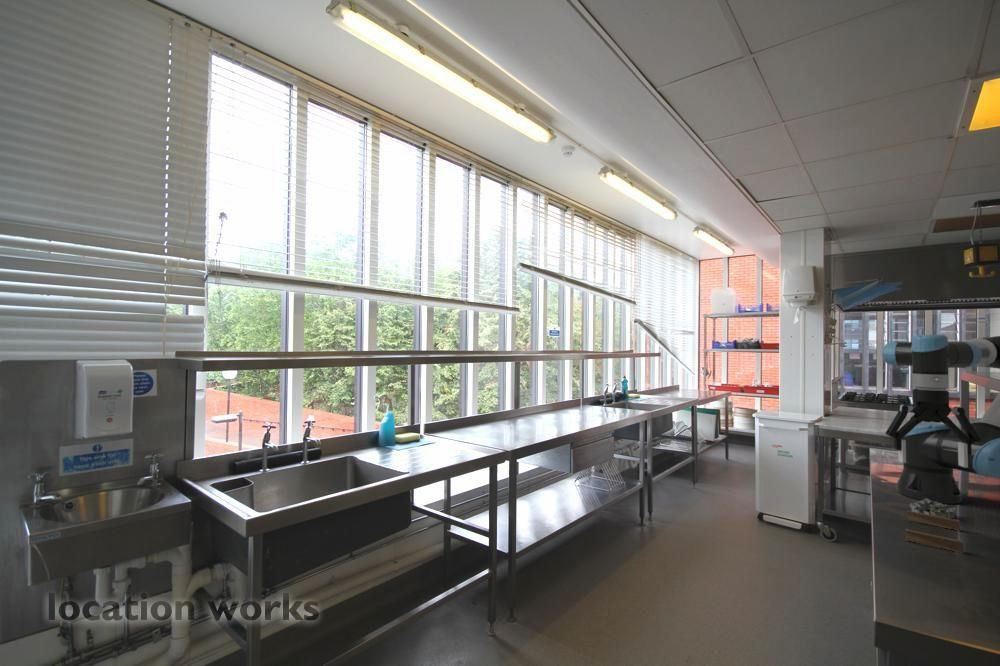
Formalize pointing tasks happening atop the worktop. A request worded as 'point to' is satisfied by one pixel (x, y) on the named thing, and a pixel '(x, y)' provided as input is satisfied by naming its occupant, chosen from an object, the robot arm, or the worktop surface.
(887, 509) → the worktop surface
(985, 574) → the worktop surface
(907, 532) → the parallel wooden rails
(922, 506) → the egg carton
